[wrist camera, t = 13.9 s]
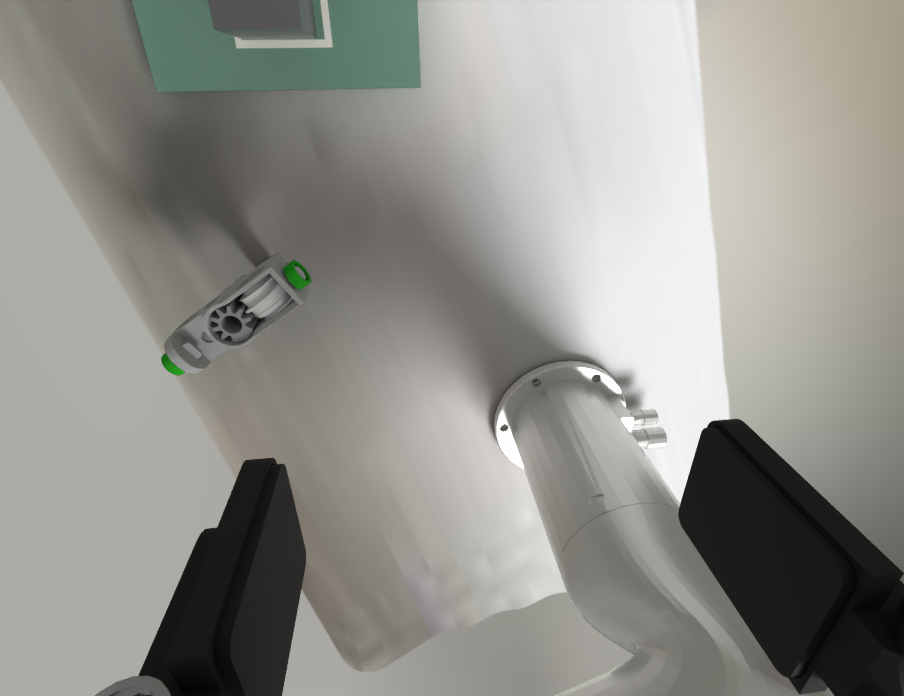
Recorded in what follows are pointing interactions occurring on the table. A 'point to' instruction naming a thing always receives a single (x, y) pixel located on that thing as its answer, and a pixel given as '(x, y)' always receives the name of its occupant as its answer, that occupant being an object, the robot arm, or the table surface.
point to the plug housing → (264, 19)
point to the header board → (282, 49)
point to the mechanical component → (237, 315)
